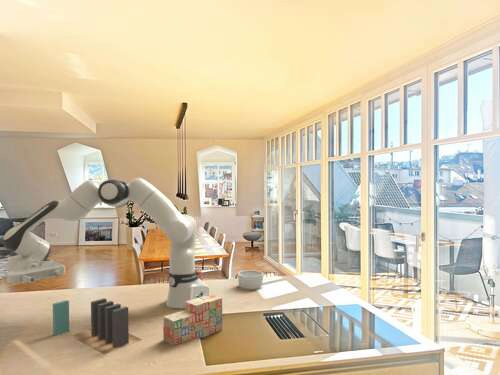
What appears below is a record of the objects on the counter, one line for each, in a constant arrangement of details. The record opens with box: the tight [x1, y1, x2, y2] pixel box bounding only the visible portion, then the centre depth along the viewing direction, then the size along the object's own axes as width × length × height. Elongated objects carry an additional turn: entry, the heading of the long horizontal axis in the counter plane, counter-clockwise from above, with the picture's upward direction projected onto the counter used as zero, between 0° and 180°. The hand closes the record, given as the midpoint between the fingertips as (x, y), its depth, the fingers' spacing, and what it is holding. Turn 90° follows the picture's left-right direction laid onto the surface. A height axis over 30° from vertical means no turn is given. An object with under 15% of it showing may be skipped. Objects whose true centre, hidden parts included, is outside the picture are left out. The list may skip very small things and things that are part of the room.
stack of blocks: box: [162, 294, 223, 346], centre depth 137 cm, size 21×6×12 cm, turn 135°
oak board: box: [70, 328, 143, 355], centre depth 134 cm, size 14×22×1 cm, turn 50°
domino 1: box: [52, 299, 70, 337], centre depth 138 cm, size 5×2×12 cm, turn 141°
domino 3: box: [98, 300, 115, 340], centre depth 134 cm, size 5×2×12 cm, turn 140°
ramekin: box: [237, 269, 264, 291], centre depth 198 cm, size 13×13×7 cm
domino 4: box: [105, 303, 122, 344], centre depth 131 cm, size 5×2×12 cm, turn 140°
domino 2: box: [90, 297, 108, 337], centre depth 137 cm, size 5×2×12 cm, turn 140°
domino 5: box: [112, 306, 130, 348], centre depth 128 cm, size 5×2×12 cm, turn 140°
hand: (45, 277), depth 145 cm, fingers open, 8 cm apart
